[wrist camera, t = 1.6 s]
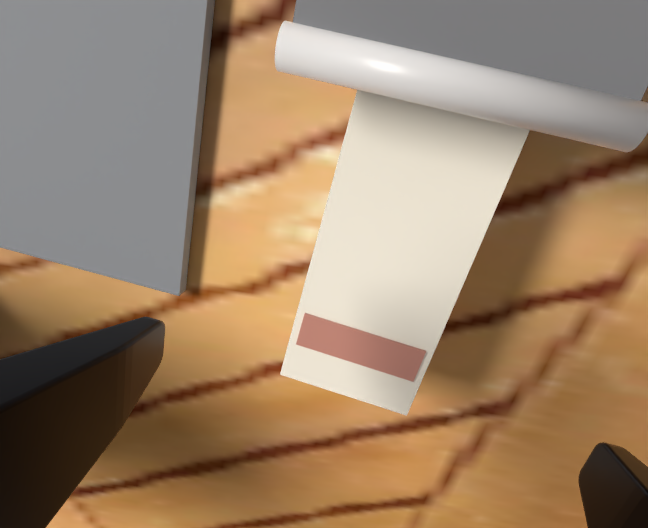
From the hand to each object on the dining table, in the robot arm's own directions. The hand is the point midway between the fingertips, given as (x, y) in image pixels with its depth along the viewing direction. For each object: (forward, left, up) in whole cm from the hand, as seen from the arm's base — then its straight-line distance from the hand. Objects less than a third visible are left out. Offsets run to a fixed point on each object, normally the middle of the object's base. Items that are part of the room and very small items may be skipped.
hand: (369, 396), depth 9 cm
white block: (+3, 0, -8) cm, 9 cm away
